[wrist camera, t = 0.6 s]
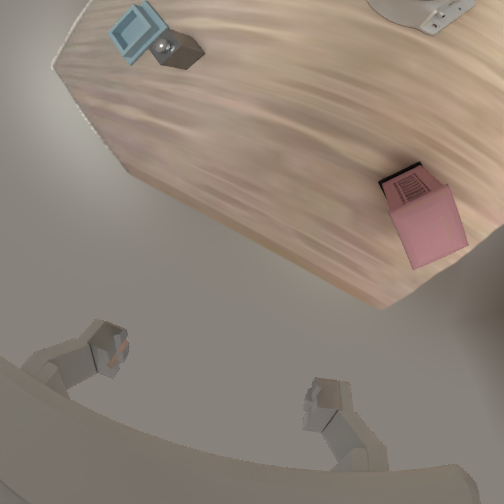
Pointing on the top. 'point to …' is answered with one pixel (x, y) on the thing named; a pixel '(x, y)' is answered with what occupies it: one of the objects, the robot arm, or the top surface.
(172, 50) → the grey knobbed metal block
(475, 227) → the top surface
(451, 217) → the pink vented box
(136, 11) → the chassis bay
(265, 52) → the top surface
